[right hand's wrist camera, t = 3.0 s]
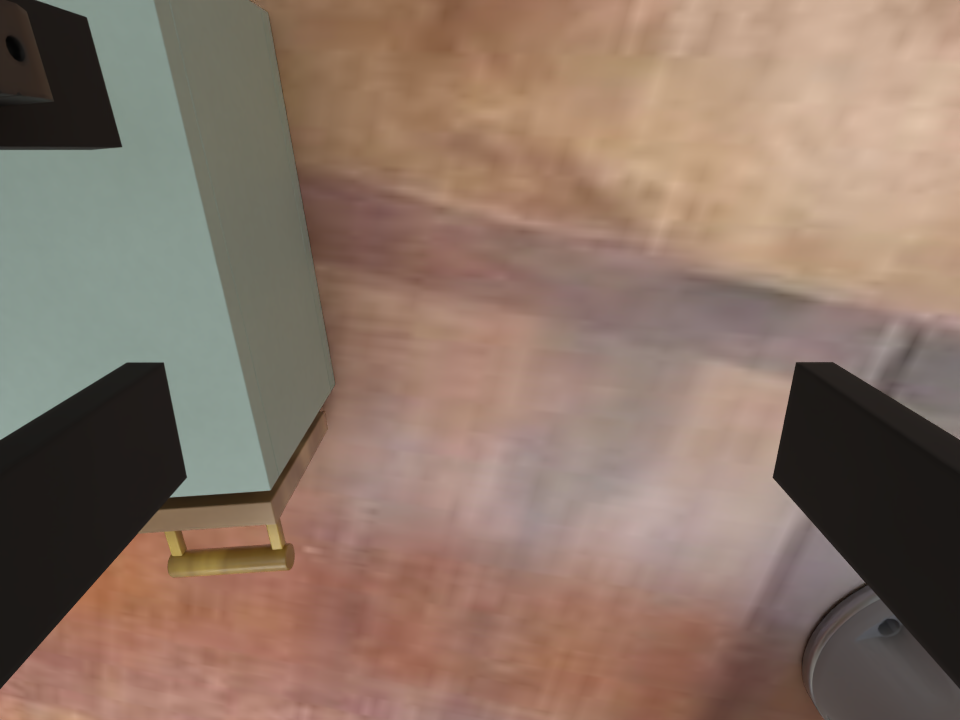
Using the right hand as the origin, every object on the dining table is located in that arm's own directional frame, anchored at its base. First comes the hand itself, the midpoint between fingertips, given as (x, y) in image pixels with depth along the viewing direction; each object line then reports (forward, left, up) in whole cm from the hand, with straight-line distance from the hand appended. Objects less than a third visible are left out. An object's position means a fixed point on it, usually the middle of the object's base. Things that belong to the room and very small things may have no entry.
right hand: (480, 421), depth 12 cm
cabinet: (0, +15, -21) cm, 26 cm away
